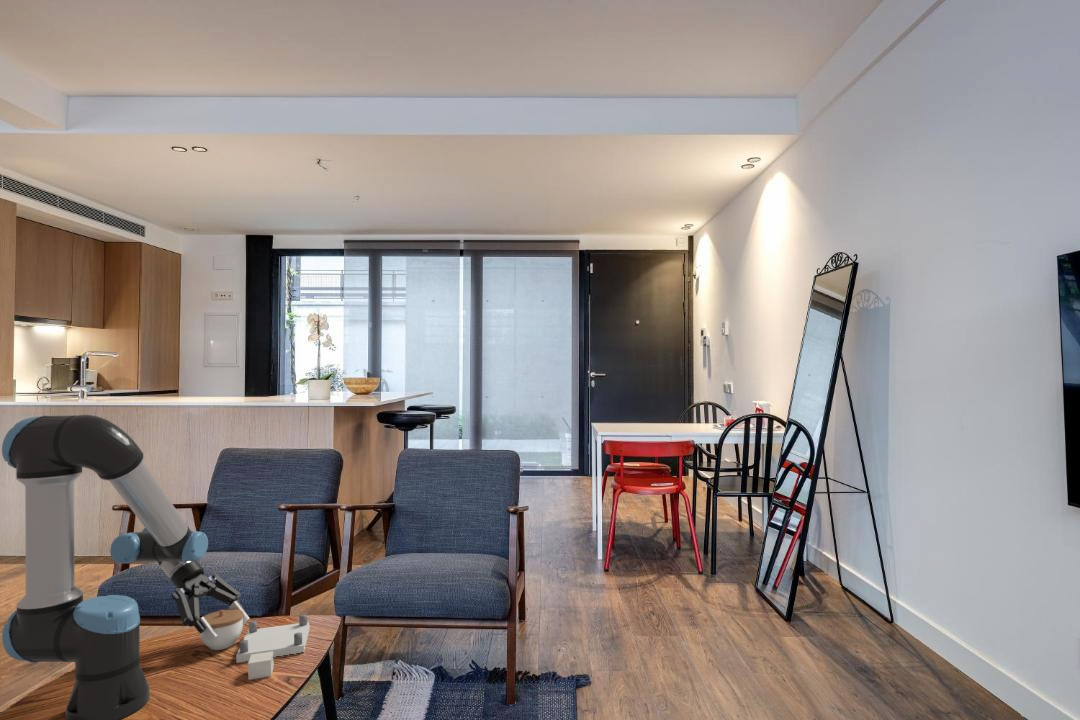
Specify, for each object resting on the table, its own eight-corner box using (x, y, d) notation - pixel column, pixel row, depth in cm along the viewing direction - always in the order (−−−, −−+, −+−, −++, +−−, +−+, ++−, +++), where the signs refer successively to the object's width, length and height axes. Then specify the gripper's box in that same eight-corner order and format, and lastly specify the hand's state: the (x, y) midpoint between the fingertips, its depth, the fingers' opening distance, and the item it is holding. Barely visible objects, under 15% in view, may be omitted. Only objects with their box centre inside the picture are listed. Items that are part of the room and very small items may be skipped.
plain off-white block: (248, 680, 146) (248, 663, 146) (251, 670, 150) (251, 654, 150) (271, 676, 147) (270, 659, 147) (273, 667, 152) (273, 651, 152)
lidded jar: (252, 637, 170) (251, 603, 170) (227, 655, 159) (226, 618, 159) (217, 636, 171) (216, 602, 172) (190, 653, 161) (189, 617, 161)
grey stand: (236, 663, 154) (236, 645, 155) (248, 637, 170) (248, 621, 170) (304, 653, 159) (303, 635, 159) (309, 628, 174) (309, 613, 174)
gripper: (153, 573, 157) (203, 639, 153) (223, 548, 180) (268, 605, 175) (137, 592, 159) (186, 659, 154) (209, 565, 181) (253, 622, 176)
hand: (230, 630), depth 165 cm, fingers closed on lidded jar, 11 cm apart
